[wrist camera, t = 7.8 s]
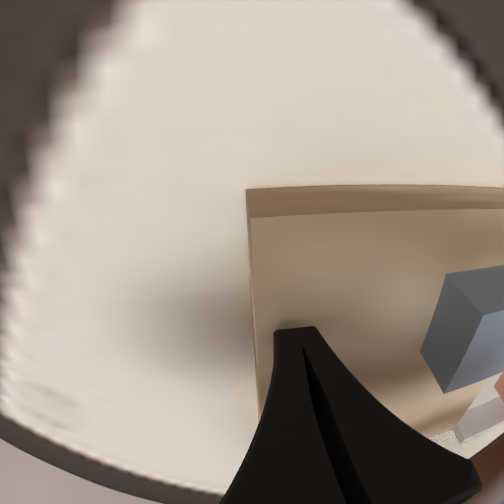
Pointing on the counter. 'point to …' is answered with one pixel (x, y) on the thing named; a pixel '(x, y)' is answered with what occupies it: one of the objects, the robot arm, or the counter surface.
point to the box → (481, 413)
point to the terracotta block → (500, 386)
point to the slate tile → (467, 329)
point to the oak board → (369, 280)
